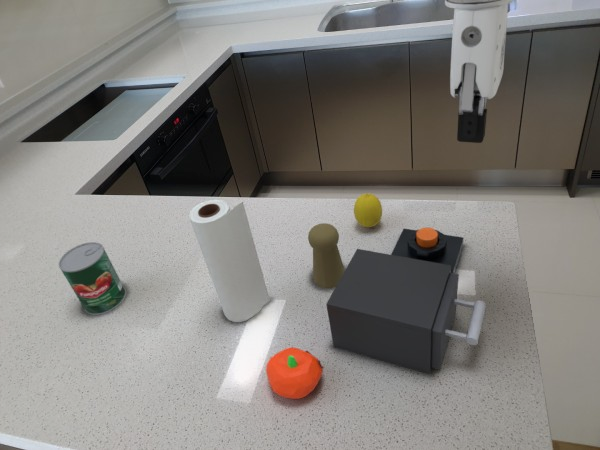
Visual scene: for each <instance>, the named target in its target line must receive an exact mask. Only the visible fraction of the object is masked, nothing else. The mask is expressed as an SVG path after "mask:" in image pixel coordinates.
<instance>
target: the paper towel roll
mask: <svg viewBox="0 0 600 450" xmlns="http://www.w3.org/2000/svg"><path fill="white" fill-rule="evenodd" d="M188 215H189V216H188V217H189V222H190V224H191V227H192V230H193V232H194V235H195V238H196V240H197V244H198V247H199V249H200V251H201V255H202V257H203V260H204V262H205V265H206V269H207V270H208V274H209V276H210V278H211V281H212V285H213V287H214V290H215V292H216V295H217V299H218V301H219V304H220V306H221V309H222V311H223V314H224V316H225V318H226V319H227V320H228V321H230V322H232V323H242V322H243V323H244V322H246V321H248V320H250V319H252V318H253V317H255V316H256V315H257V314H259V313H260V311H261V310H262V309H263V308H264V306H265V305H267V304H268V303H270V302H271V299H270V295H269V291H268V288H267V283H266V281H265V278H264V273H263V269H262V266H261V263H260V258H259V256H258V251H257V247H256V244H255V241H254V237H253V233H252V229H251V226H250V222H249V219H248V215H247V211H246V208H245V204H244V201H242V202H241V201H240V202H239V203H237V204H236V205H235V206H233V207H232V208H230V204H229V202H228V203H227V201H225V200H222V199H209V200H205V201H202V202H200V203H199V204H197V205H195V206H194V207H193V208H191V210H190V212H189V214H188Z"/></svg>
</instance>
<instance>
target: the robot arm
mask: <svg viewBox="0 0 600 450" xmlns="http://www.w3.org/2000/svg"><path fill="white" fill-rule="evenodd" d="M515 1H516V0H444V6H445V7H447V8H449V9H452V10H453V20H452V21H453V22H452V29H451V30H452V36H451V50H450V51H451V52H450V71H449V72H450V73H449V74H450V75H449V88H450V89H449V90H450V95H451V97H453V98H454V99H457V98H458V97H459V100H458V102H459V103H458V114H457V115H458V117H457V133H456V141H457V142H459V143H460V142H461V143H472V144H473V143H475V144H481V143H483V141H484V140H485V139H484V138H485V135H486V128H487V127H486V126H487V114H488V108H486V107H487V102H488V100H491V99H493V98H494V97H495V96H496V95H497V92H498V89H499V86H500V85H501V81H502V77H503V74H504V69H505V68H504V67H505V52H506V40H507V28H508V10H509V9H508V8H509V4H511V3H513V2H515Z"/></svg>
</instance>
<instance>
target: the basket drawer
mask: <svg viewBox="0 0 600 450" xmlns="http://www.w3.org/2000/svg"><path fill="white" fill-rule="evenodd" d="M459 279H460V278H459V273H455V274H454V273H450V275H449V279H448V282H447V285H446V288H445V291H444V294H443V297H442V301H441V304H440V307H439V309H438V312H437V315H436V319H435V322H434V325H433V328H432V359H431V367H432V369H435V370H439V371H440V370H441V368H442V364H443V360H444V357H445V353H446V349H447V346H448V343H449V340H450V337H452V338H455V339H458V340H462V341H466V343H467V344H468V345H470V346H477V345H478V343H479V339H480V334H481V331H482V325H483V321H484V317H485V311H486V307H487V304H486V302H484V301H483V300H476V301H474V302H472V301H467V300H463V299H458V291H459ZM458 306H460V307H465V308H470V309H472V313H471V317H470V322H469V326H468V329H467V332H466V333H463V332H459V331H455V330H452V329H453V325H454V321H455V318H456V314H457V307H458Z"/></svg>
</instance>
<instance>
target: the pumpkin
mask: <svg viewBox="0 0 600 450" xmlns="http://www.w3.org/2000/svg"><path fill="white" fill-rule="evenodd" d="M265 371H266V376H267V380H268V383H269V386H270V387H271V389H272V391H273V392H274V393H275V394H276V395H278V396H280V397H282V398H285V399H291V400H299V399H303V398H305V397H306V396H308V395H309V394H310V393H312V392H313V391H314V390H315V389H316V387H317V385H318V384H319V381H320V379H321V378H322V375H323V372H324V366H323V365H322V363H321V361H320V360H319V359H318V358H317V357H316V356H314V355H313V354H311V353H310V351H309V350H302V349H299V348H296V347H293V346H291V347H287V348H284V349H282V350H280V351H279V352H277V353H275V354H274V355H272V356H271V357H270V358H269V360H268V362H267V363H266V368H265Z"/></svg>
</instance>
